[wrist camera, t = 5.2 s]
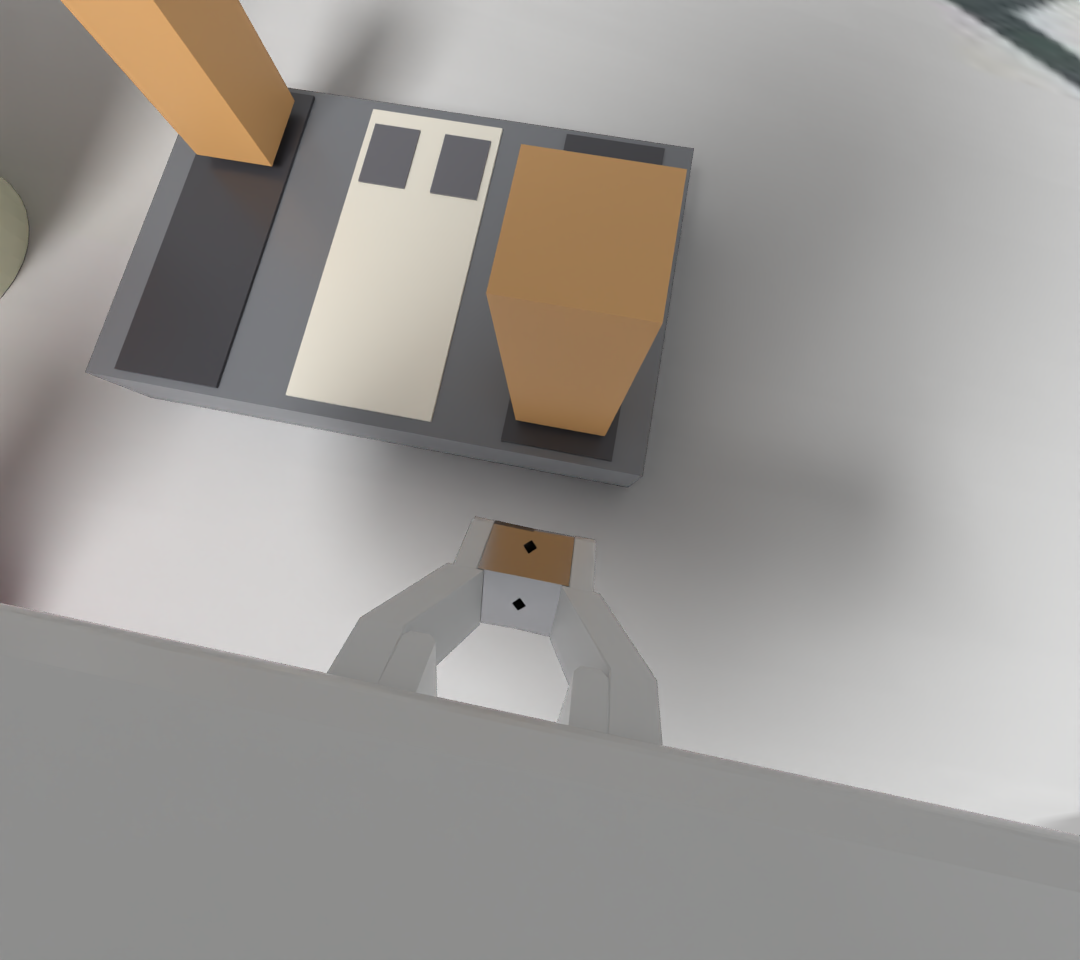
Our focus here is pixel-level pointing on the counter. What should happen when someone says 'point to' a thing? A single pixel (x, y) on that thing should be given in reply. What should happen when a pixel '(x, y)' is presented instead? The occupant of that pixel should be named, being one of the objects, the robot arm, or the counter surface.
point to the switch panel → (357, 286)
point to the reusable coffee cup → (11, 234)
